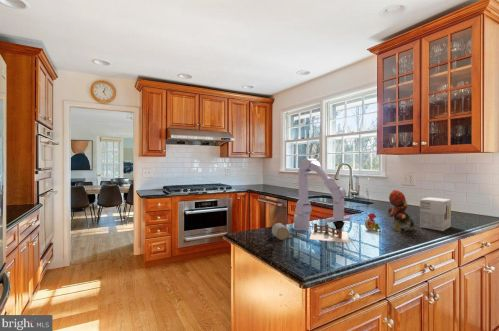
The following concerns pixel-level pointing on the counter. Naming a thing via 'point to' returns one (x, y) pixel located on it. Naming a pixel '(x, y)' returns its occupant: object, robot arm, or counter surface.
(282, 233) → the ceramic mug
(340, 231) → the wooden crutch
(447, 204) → the supplement box
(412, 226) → the stuffed monkey
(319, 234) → the card
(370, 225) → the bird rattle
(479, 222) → the counter surface
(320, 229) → the frame
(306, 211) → the robot arm
